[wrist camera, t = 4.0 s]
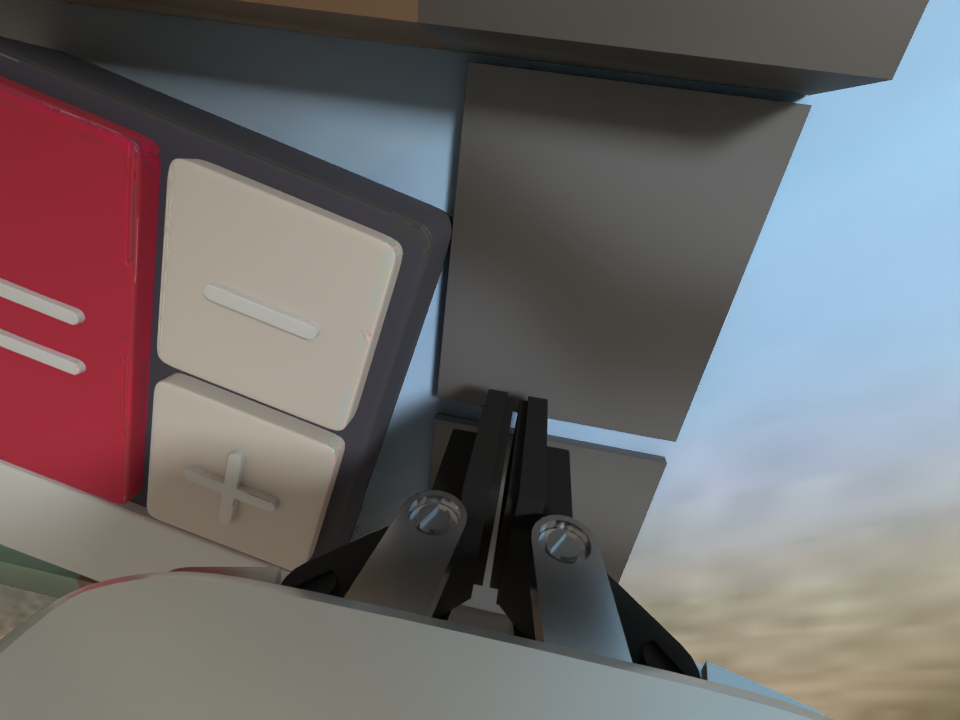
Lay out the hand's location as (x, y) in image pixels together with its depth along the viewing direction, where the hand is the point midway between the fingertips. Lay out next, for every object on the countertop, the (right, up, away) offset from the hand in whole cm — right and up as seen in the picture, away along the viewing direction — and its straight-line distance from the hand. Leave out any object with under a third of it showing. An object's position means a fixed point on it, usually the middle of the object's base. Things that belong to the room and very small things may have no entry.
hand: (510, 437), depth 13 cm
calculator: (-9, +2, +2) cm, 9 cm away
